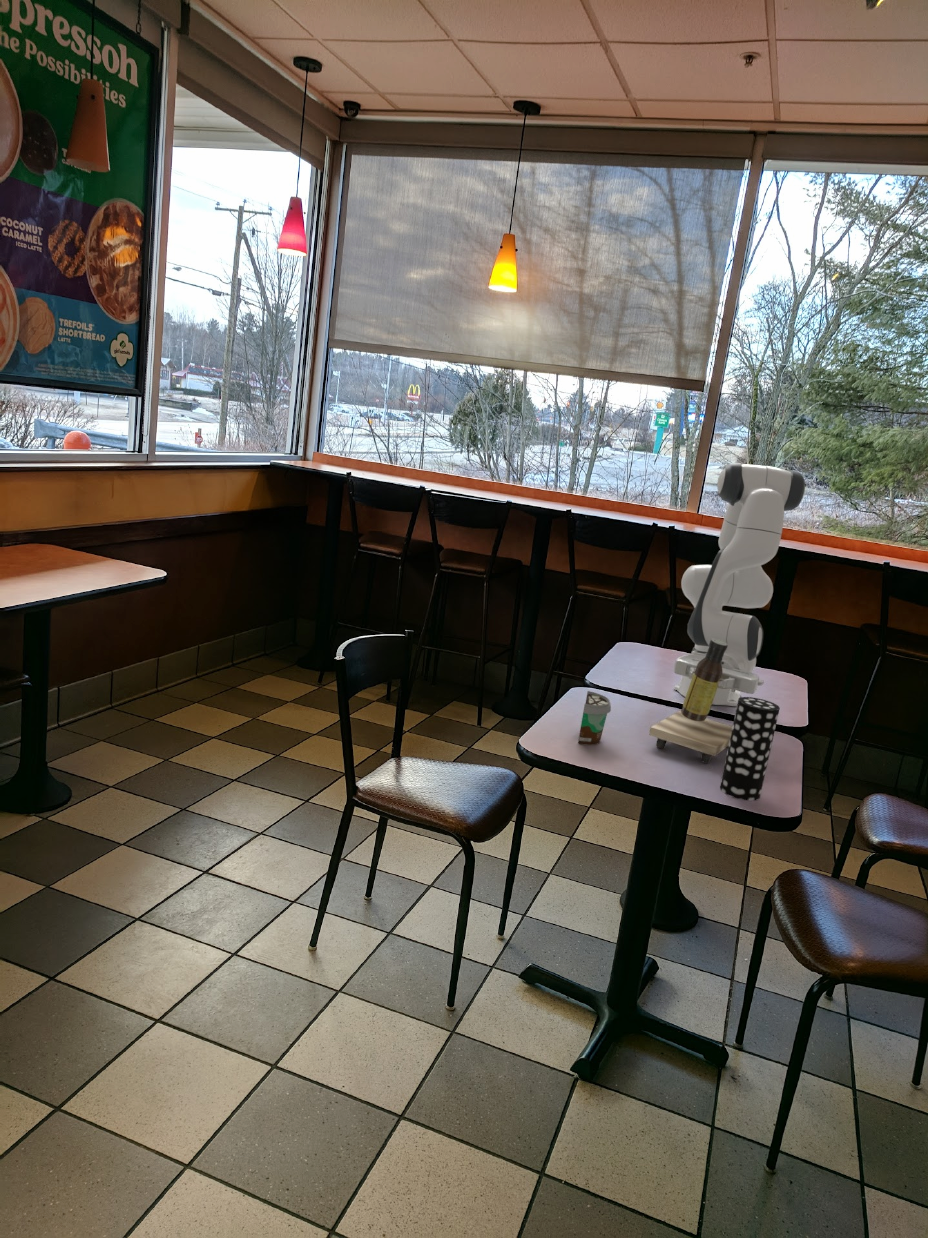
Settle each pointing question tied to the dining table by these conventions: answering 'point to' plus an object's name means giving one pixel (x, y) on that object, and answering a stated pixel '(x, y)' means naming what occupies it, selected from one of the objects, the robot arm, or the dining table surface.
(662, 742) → the dolly
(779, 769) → the dining table surface
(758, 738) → the white-spotted black cylinder
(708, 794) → the dining table surface
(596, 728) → the food container
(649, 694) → the dining table surface
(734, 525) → the robot arm
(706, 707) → the sauce bottle
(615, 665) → the dining table surface
